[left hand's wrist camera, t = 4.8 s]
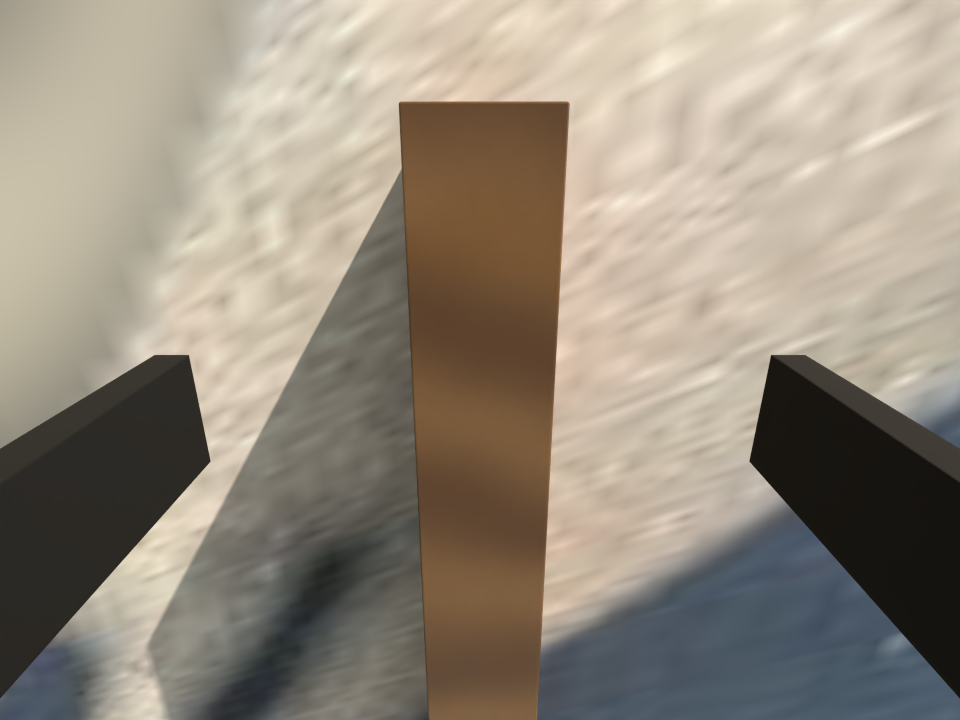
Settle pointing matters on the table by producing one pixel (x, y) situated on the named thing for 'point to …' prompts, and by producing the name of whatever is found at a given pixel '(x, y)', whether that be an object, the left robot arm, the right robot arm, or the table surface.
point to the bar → (483, 387)
